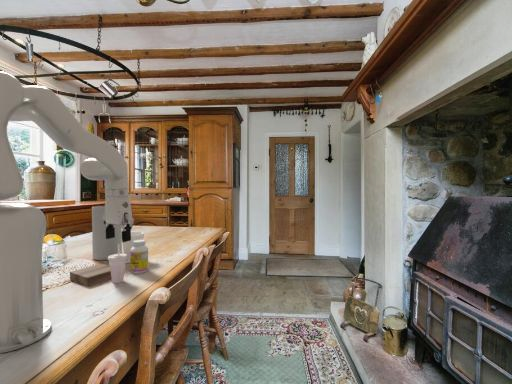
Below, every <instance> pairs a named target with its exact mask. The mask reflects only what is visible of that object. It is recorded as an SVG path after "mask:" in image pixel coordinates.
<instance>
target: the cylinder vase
mask: <svg viewBox="0 0 512 384" xmlns="http://www.w3.org/2000/svg"><path fill="white" fill-rule="evenodd" d="M103 215H105V205H96V206H95V205H94V206H92V207H91V227H92V228H91V230H92V231H91V233H92V234H91V235H92V237H91V239H92V240H91V241H92V244H91V245H92V259H93V260H95V261H109V260H108V256H110V255H113V254H118V244H119V245H120V254H123V253H122V252H123V250H122V249H123V243H122V238H121V235H122V231H123V230H122V228H121V226H120V225H114V226H113V227H115V237H114V238H110V239H106V228H105V224H104V220H103Z"/></svg>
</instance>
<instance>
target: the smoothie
mask: <svg viewBox="0 0 512 384" xmlns="http://www.w3.org/2000/svg"><path fill="white" fill-rule="evenodd" d="M126 258H127V254H124V253H122V254H120V245H119V244H118V254H113V255H110V256H108V260H107V261H108V265H109V266H110V272H111V278H112V279H111V283H112V284H121V283H123V282H124V279H125V270H126V264H127V263H126Z"/></svg>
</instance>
